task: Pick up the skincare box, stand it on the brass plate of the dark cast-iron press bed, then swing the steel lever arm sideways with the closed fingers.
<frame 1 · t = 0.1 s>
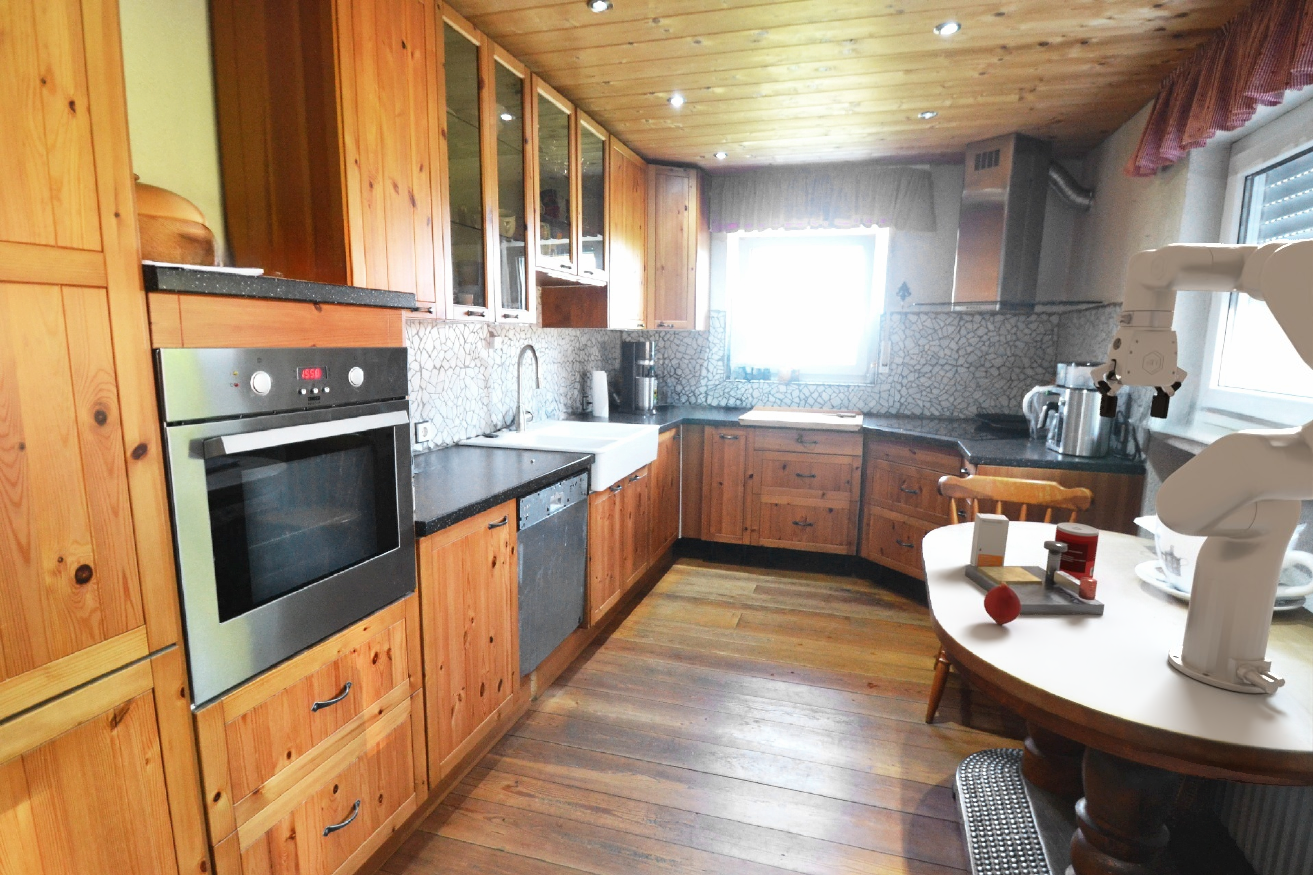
hand: (1132, 417, 119), 37 cm above the table, tool pointing down, fingers open, 9 cm apart
lever: (1074, 581, 126), point 5 cm above the table, hinge at 0.0°
press bed: (1029, 593, 132), on the table
skincare box: (986, 569, 145), on the table
onion: (1000, 625, 117), on the table
canned food: (1071, 577, 141), on the table
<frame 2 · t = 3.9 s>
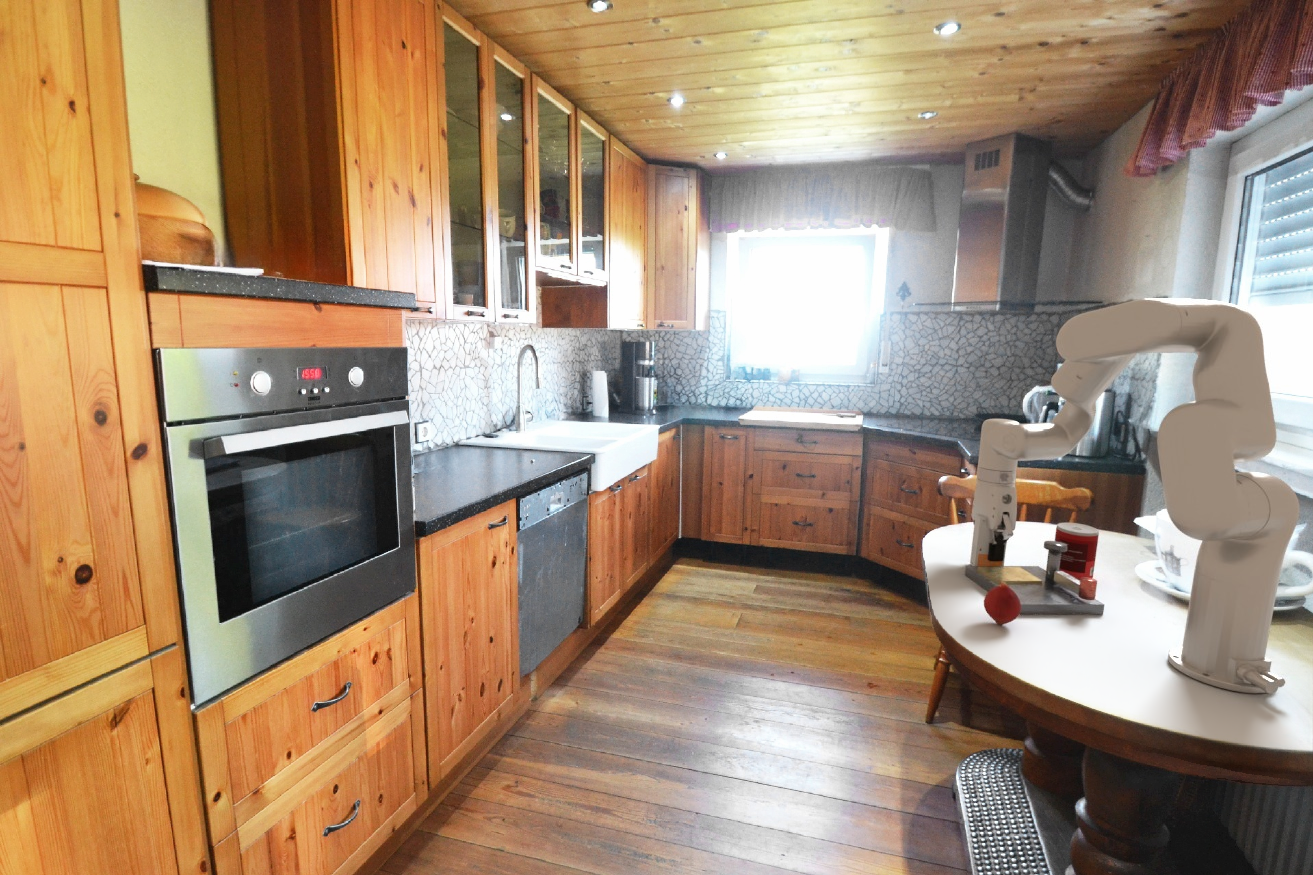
hand: (987, 555, 145), 3 cm above the table, tool pointing down, fingers closed on skincare box, 5 cm apart
skincare box: (986, 569, 145), on the table, touching gripper
everything else where it was.
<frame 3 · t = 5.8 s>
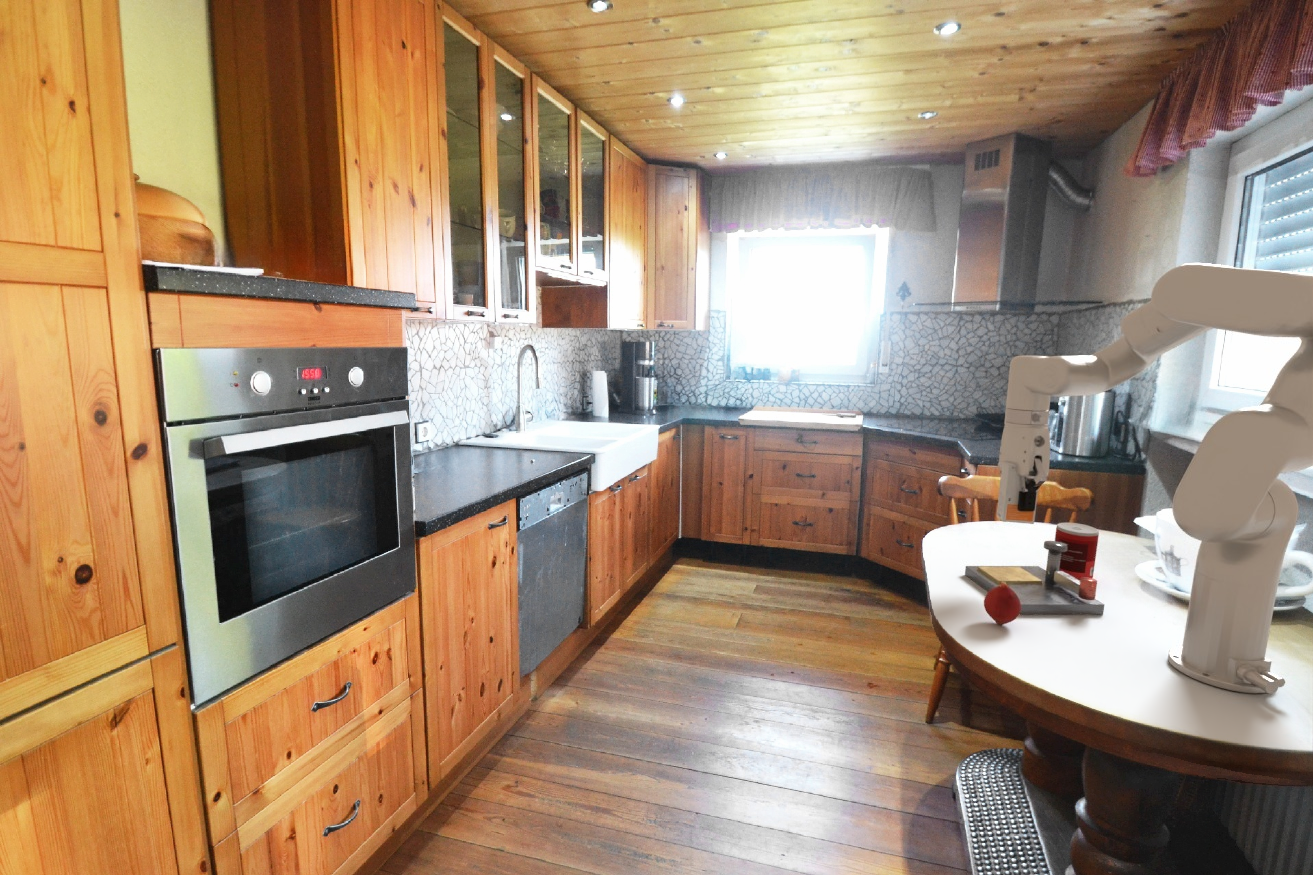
hand: (1017, 506, 133), 17 cm above the table, tool pointing down, fingers closed on skincare box, 5 cm apart
skincare box: (1015, 521, 133), point 14 cm above the table, touching gripper
everything else where it was.
when the fingers open (7 cm above the table, at t = 8.1 s): skincare box stays where it is, resting on press bed.
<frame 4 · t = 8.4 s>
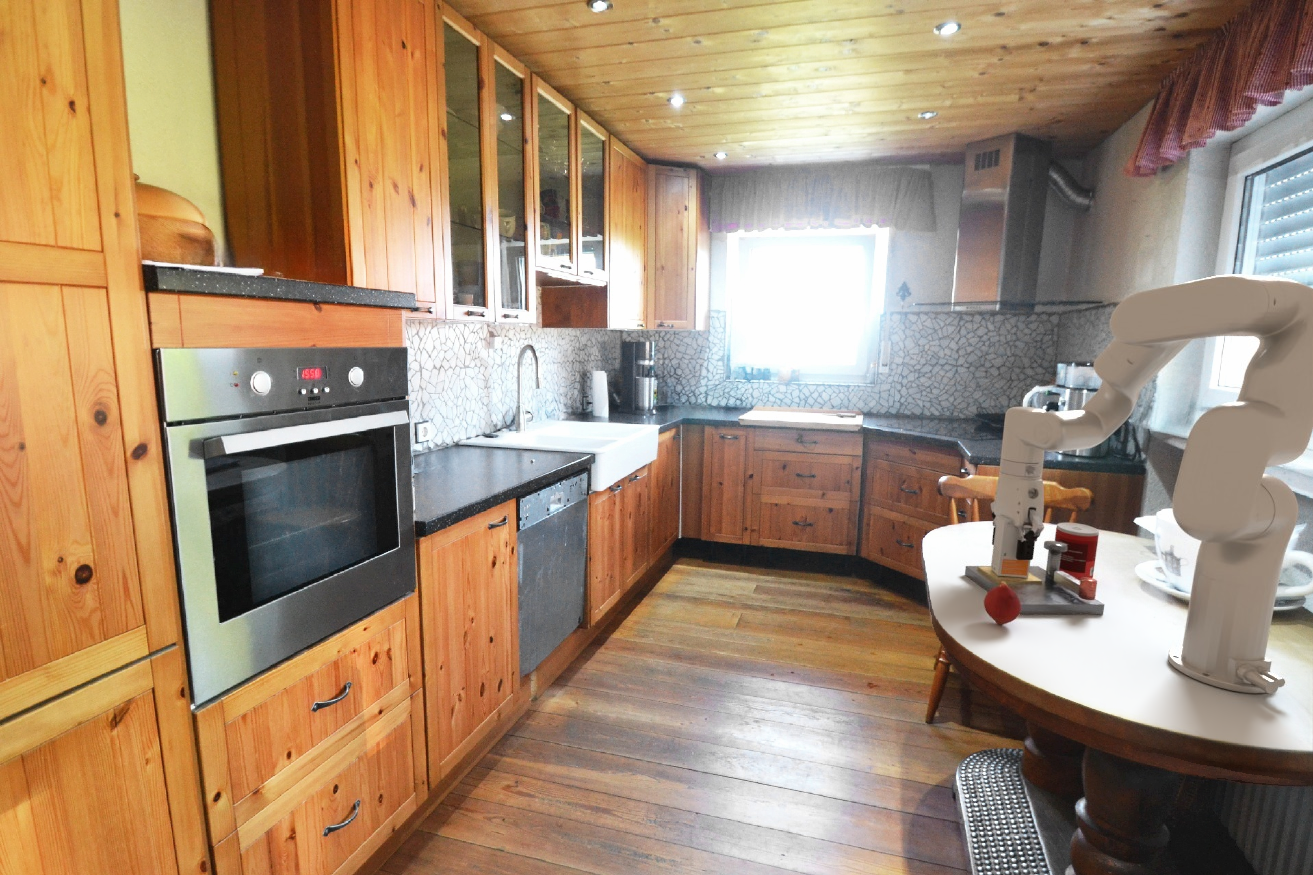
hand: (1011, 551, 134), 7 cm above the table, tool pointing down, fingers open, 8 cm apart
skincare box: (1009, 574, 135), point 2 cm above the table, touching press bed
everything else where it was.
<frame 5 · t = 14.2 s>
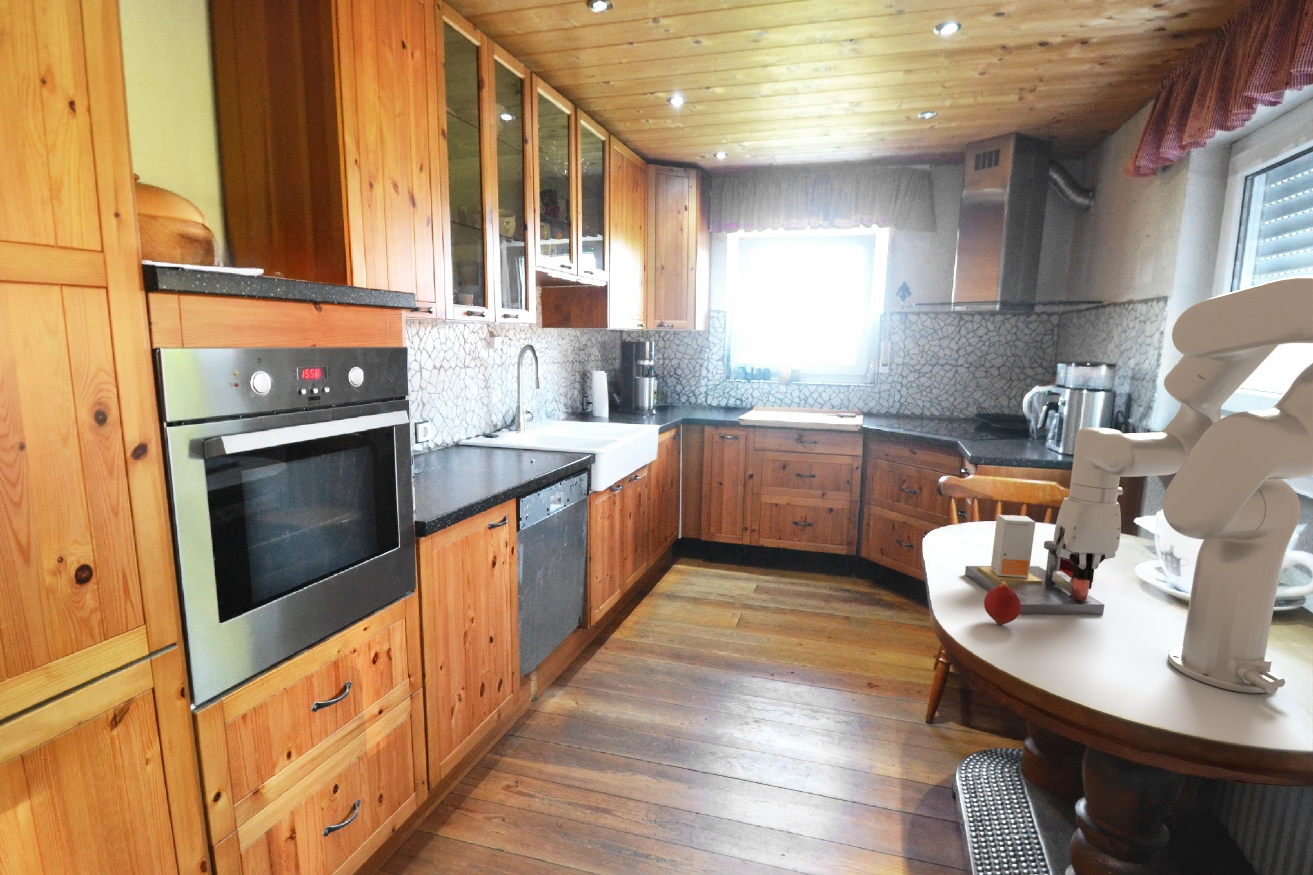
hand: (1081, 586, 126), 4 cm above the table, tool pointing down, fingers closed
lever: (1070, 581, 126), point 5 cm above the table, hinge at 7.9°, touching gripper
everything else where it was.
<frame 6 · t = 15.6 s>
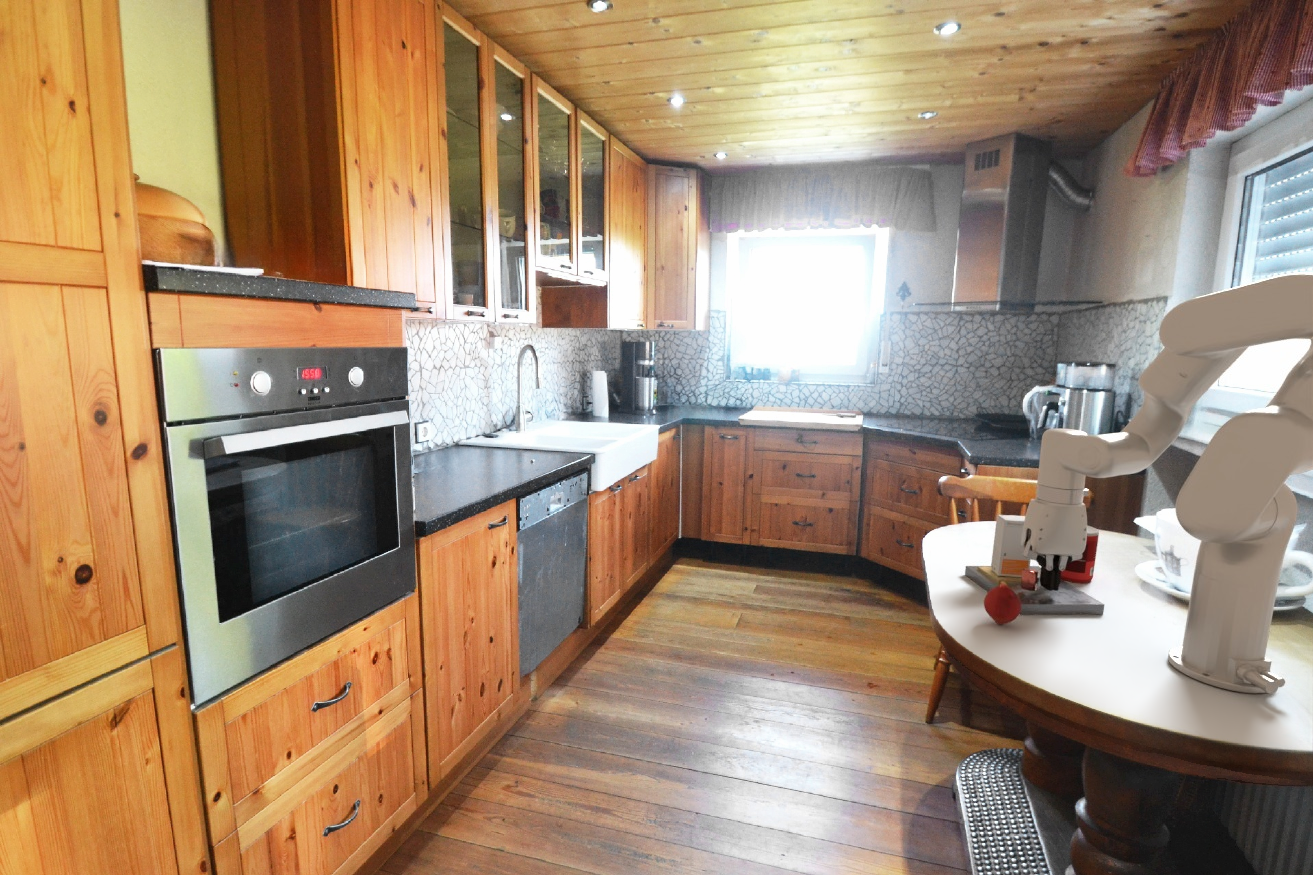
hand: (1049, 587, 125), 3 cm above the table, tool pointing down, fingers closed
lever: (1037, 575, 128), point 5 cm above the table, hinge at 55.8°, touching gripper
everything else where it was.
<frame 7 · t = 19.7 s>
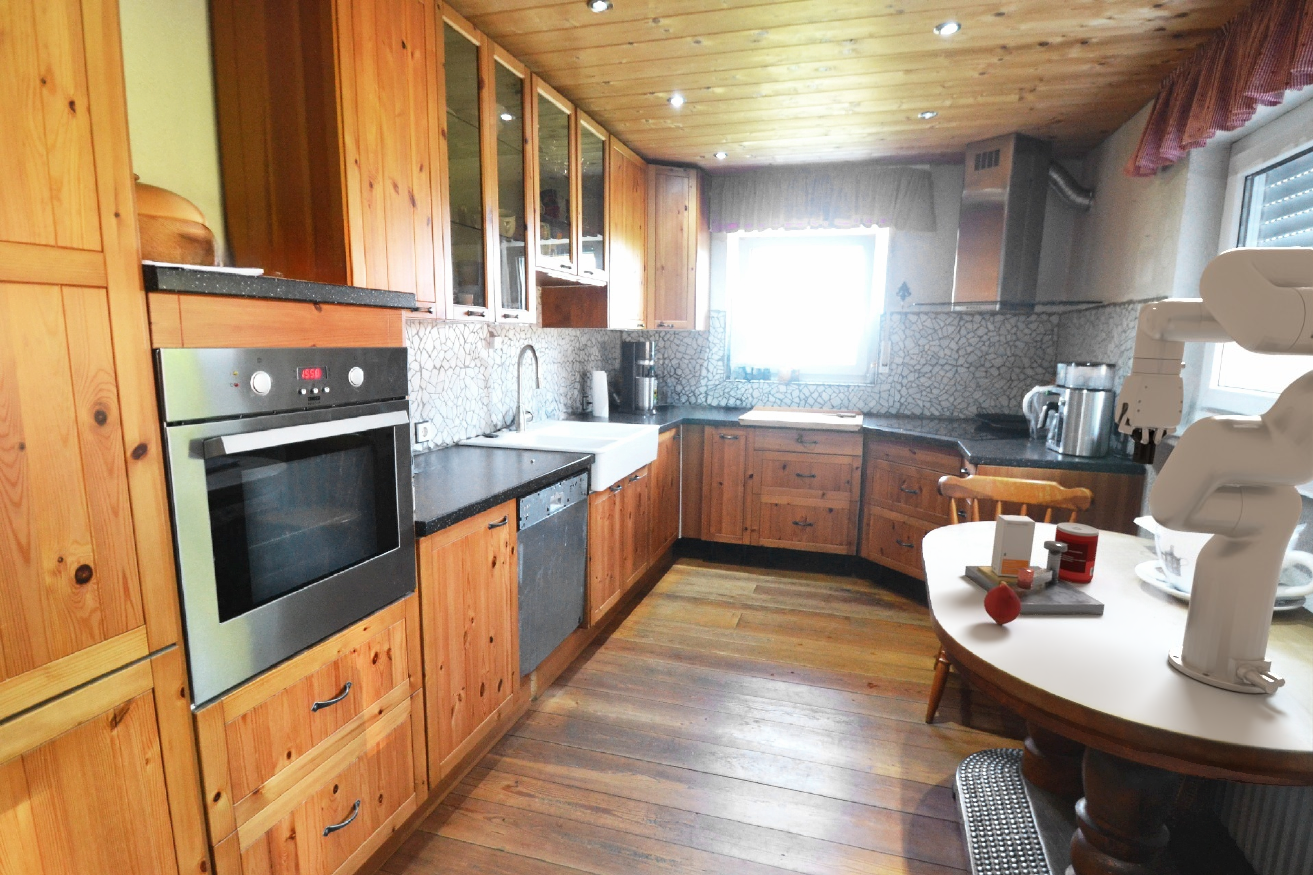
hand: (1142, 462, 127), 27 cm above the table, tool pointing down, fingers closed
lever: (1035, 575, 128), point 5 cm above the table, hinge at 59.7°
everything else where it was.
at the end: skincare box inside the target area on the press bed (0.2 cm from its centre), point 2.4 cm above the press bed's base; skincare box tilted 0°; lever at +60° (first picture: +0°) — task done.
